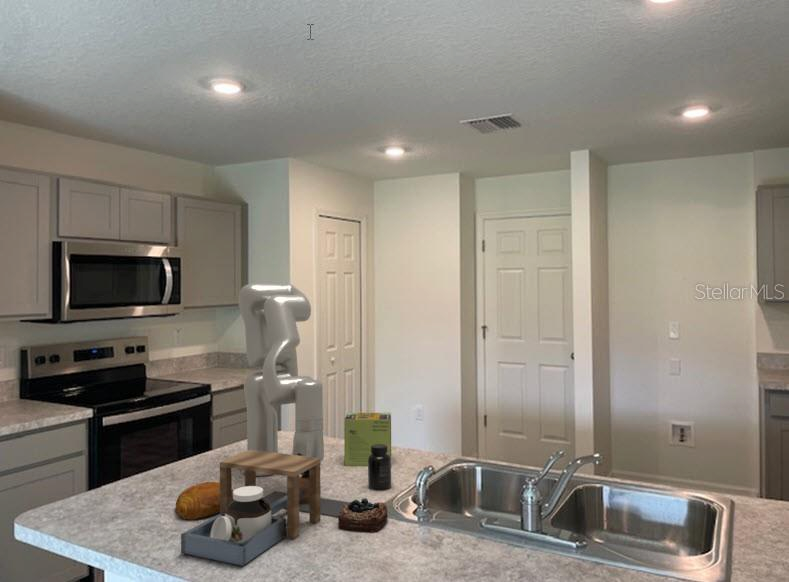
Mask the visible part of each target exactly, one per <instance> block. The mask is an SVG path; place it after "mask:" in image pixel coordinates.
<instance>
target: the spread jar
mask: <svg viewBox="0 0 789 582" xmlns="http://www.w3.org/2000/svg"><path fill="white" fill-rule="evenodd" d="M264 497H265V496H264V488H262V487H261V486H257V485H256V486H245V485H244V486H240V487H238V488H235V489H234V490H233V500H232V501H231V502H230V503H229V505H228V506H227V508H226V511H225V516H219V517H218V518H217V519H216V520H215V521H214V523H213V526H212V529H211V535H210V537H211V538H216V539H221V540H226V541H232V542H237V543H243V542H245V541H246V540H248V539H249V538H251V537H252V536H254V535H256V534H257V533H259V532H260V531H262V530H263V529H265V528H267V527H268V526H270V525H271V508H270V505H269V503H268V502H267V500H266V499H265V498H264Z"/></svg>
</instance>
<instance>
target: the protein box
mask: <svg viewBox="0 0 789 582" xmlns="http://www.w3.org/2000/svg"><path fill="white" fill-rule="evenodd" d="M343 432H344V444H343V445H344V446H343V447H344V450H343V451H344V456H343V457H344V462H343V464H344V466H345V467H346V466H350V467H352V466H353V467H354V466H356V467H360V466H361V467H362V466H363V467H365V466H366V467H368V457H369V456H370V455H371V454H372V453H371V446H372V445H375V444H384V445H387V450H388V452H387V454H388V455H390V457H391V458H392V413H391V412H348V413H347V414H346V415H345V418H344V431H343Z"/></svg>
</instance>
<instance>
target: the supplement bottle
mask: <svg viewBox="0 0 789 582" xmlns="http://www.w3.org/2000/svg"><path fill="white" fill-rule="evenodd" d="M387 452H388V450H387V445H384V444H375V445H372V446H371V453H372V454H371V455H370V456H369V457H368V466H367V477H368V478H367V481H368V485H367V486H368V488H370V489H371V490H373V491H374V490H375V491H383V490H388V489H390V488H391V487H392V456H391V457H390V455H388V454H387Z"/></svg>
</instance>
